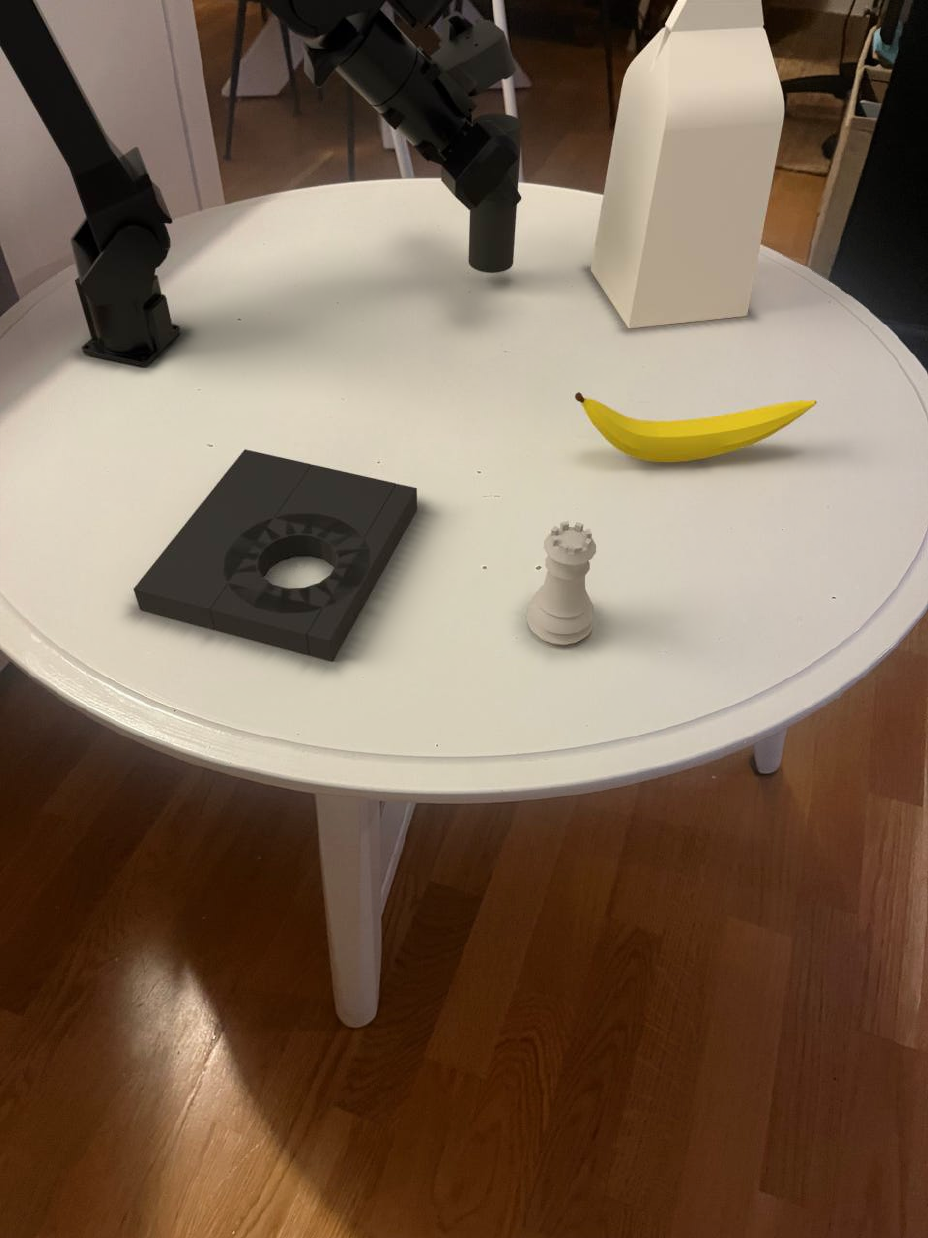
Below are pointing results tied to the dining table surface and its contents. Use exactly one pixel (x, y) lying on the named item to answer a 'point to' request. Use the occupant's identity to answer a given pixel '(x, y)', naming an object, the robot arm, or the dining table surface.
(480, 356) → the dining table surface
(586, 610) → the rook chess piece
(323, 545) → the socket pad
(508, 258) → the post
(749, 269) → the milk
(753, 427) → the banana
